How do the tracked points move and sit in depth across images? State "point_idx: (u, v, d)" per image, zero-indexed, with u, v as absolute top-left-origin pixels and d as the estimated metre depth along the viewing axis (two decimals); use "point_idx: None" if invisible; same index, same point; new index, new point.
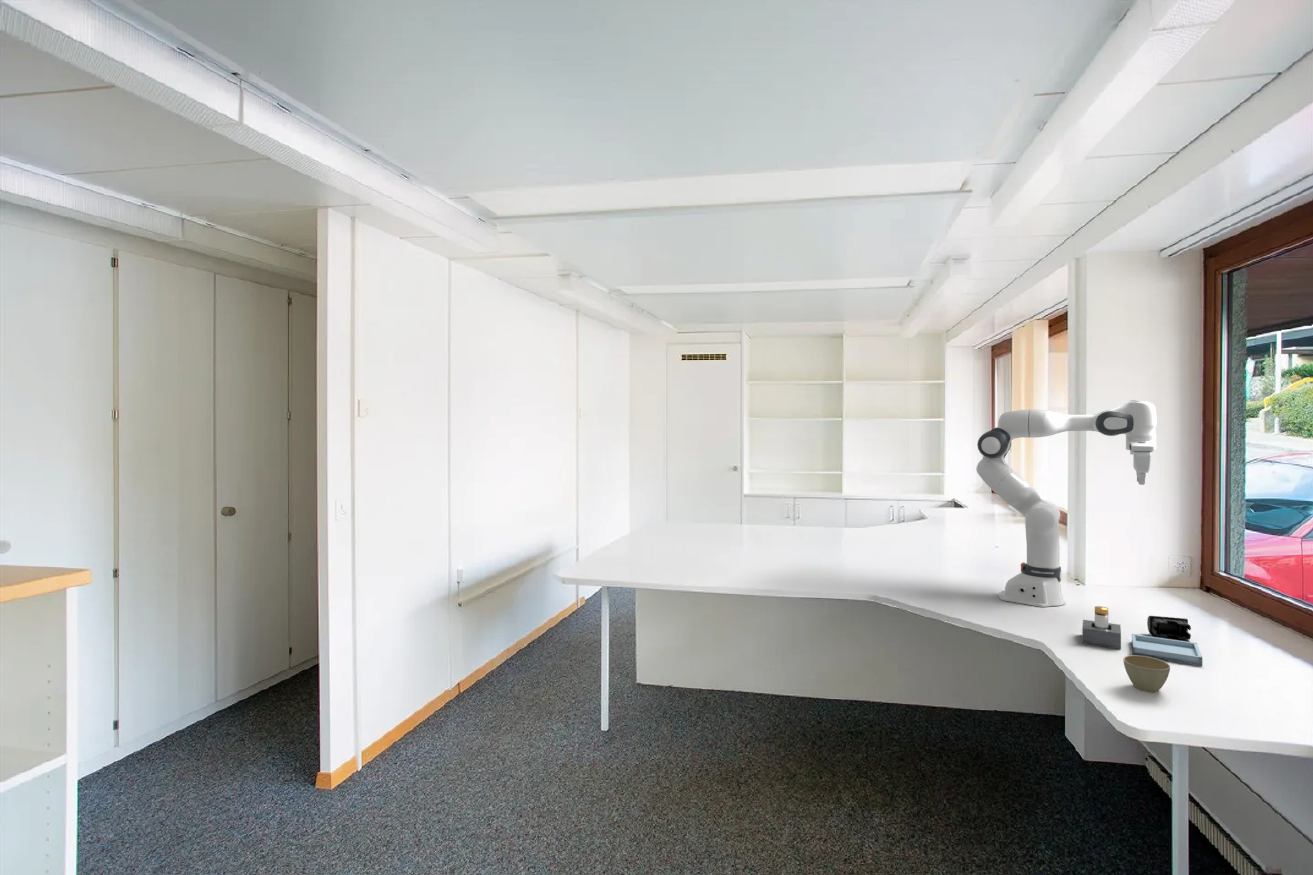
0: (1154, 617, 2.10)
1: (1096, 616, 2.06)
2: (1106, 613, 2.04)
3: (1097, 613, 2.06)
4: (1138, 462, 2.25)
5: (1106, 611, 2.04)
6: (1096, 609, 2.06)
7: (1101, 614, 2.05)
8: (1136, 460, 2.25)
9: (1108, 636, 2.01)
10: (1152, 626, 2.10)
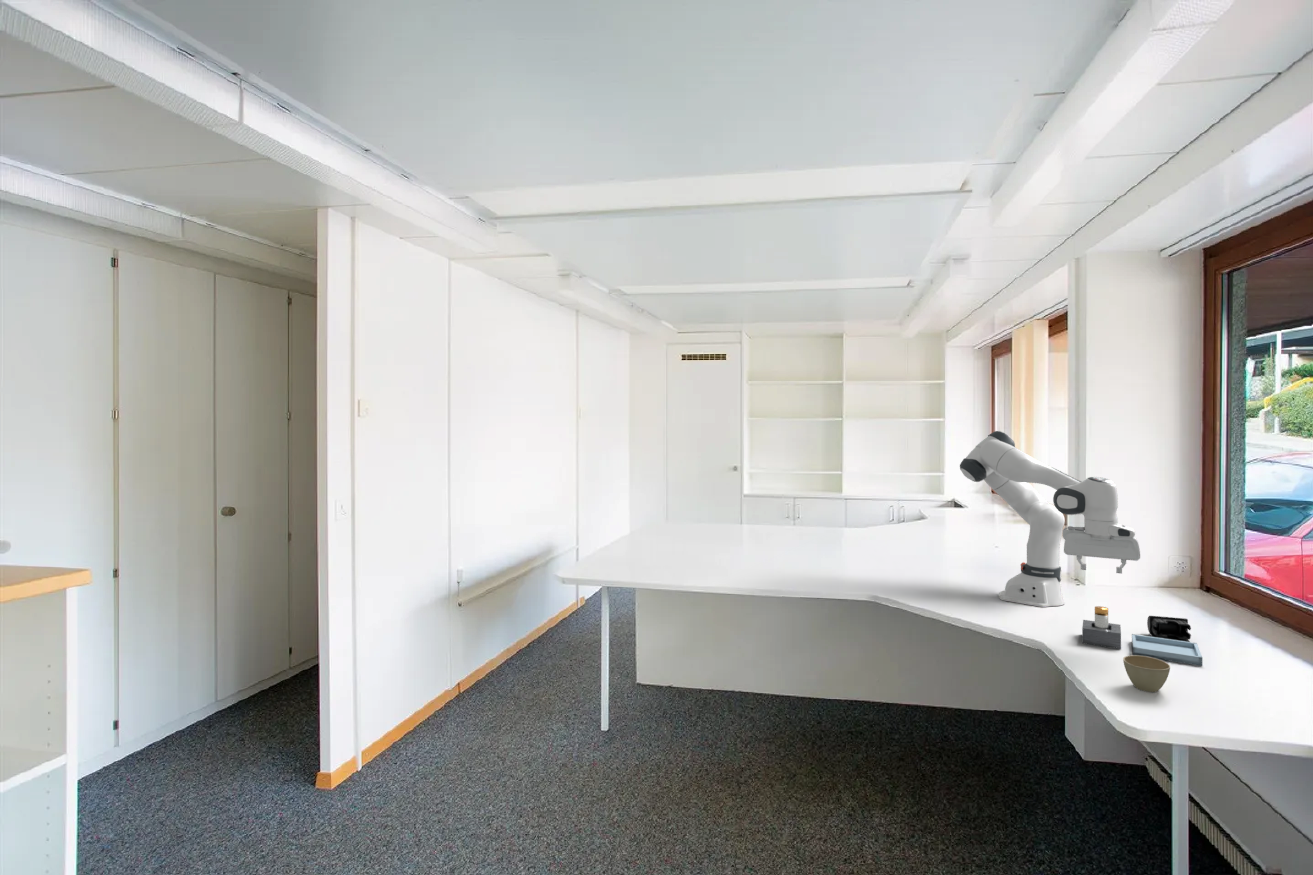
0: (1154, 617, 2.10)
1: (1096, 616, 2.06)
2: (1106, 613, 2.04)
3: (1097, 613, 2.06)
4: (1139, 549, 1.99)
5: (1106, 611, 2.04)
6: (1096, 609, 2.06)
7: (1101, 614, 2.05)
8: None
9: (1108, 636, 2.01)
10: (1152, 626, 2.10)
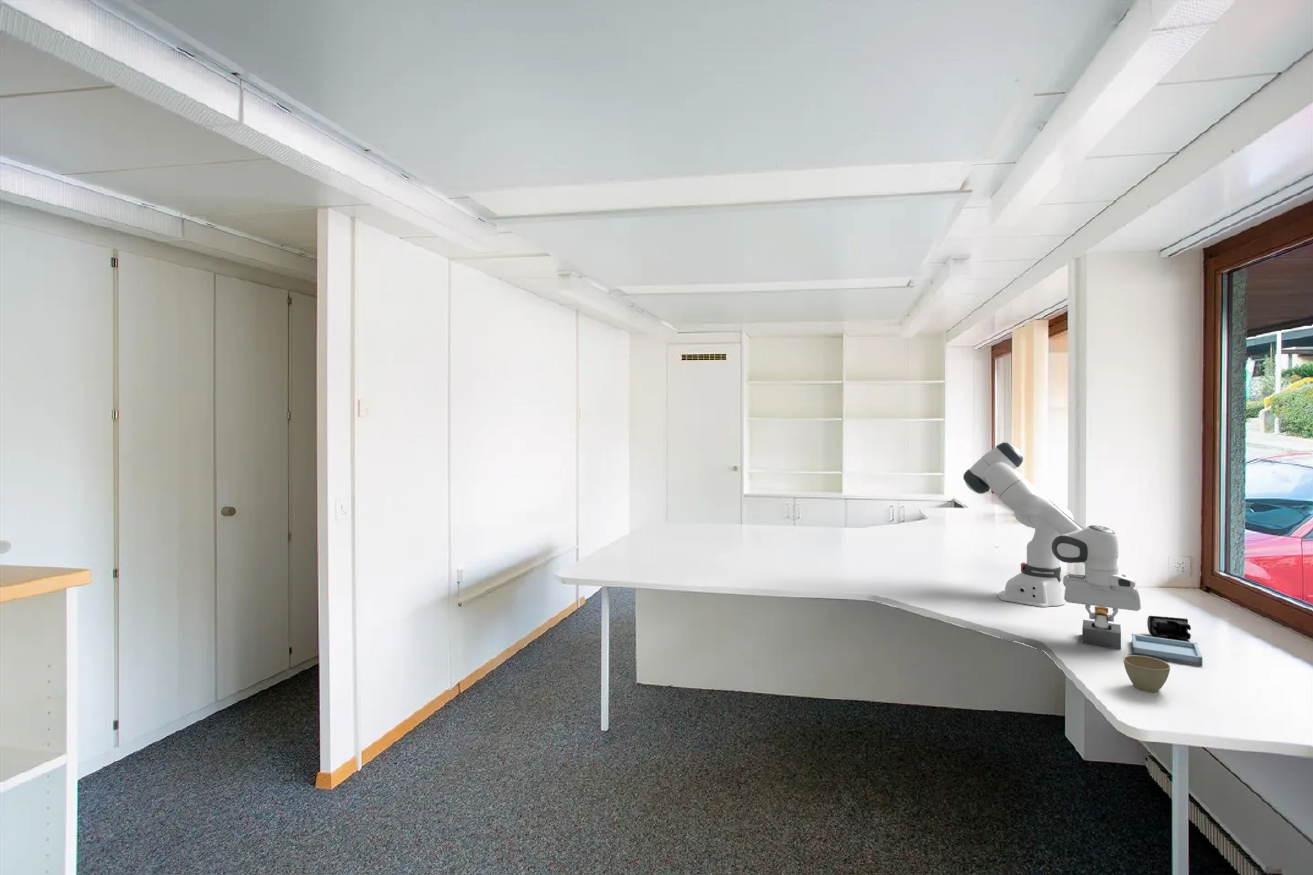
0: (1154, 617, 2.10)
1: (1096, 616, 2.06)
2: (1106, 613, 2.04)
3: (1097, 613, 2.06)
4: None
5: (1106, 611, 2.04)
6: (1096, 609, 2.06)
7: (1101, 614, 2.05)
8: (1139, 597, 1.99)
9: (1108, 636, 2.01)
10: (1152, 626, 2.10)
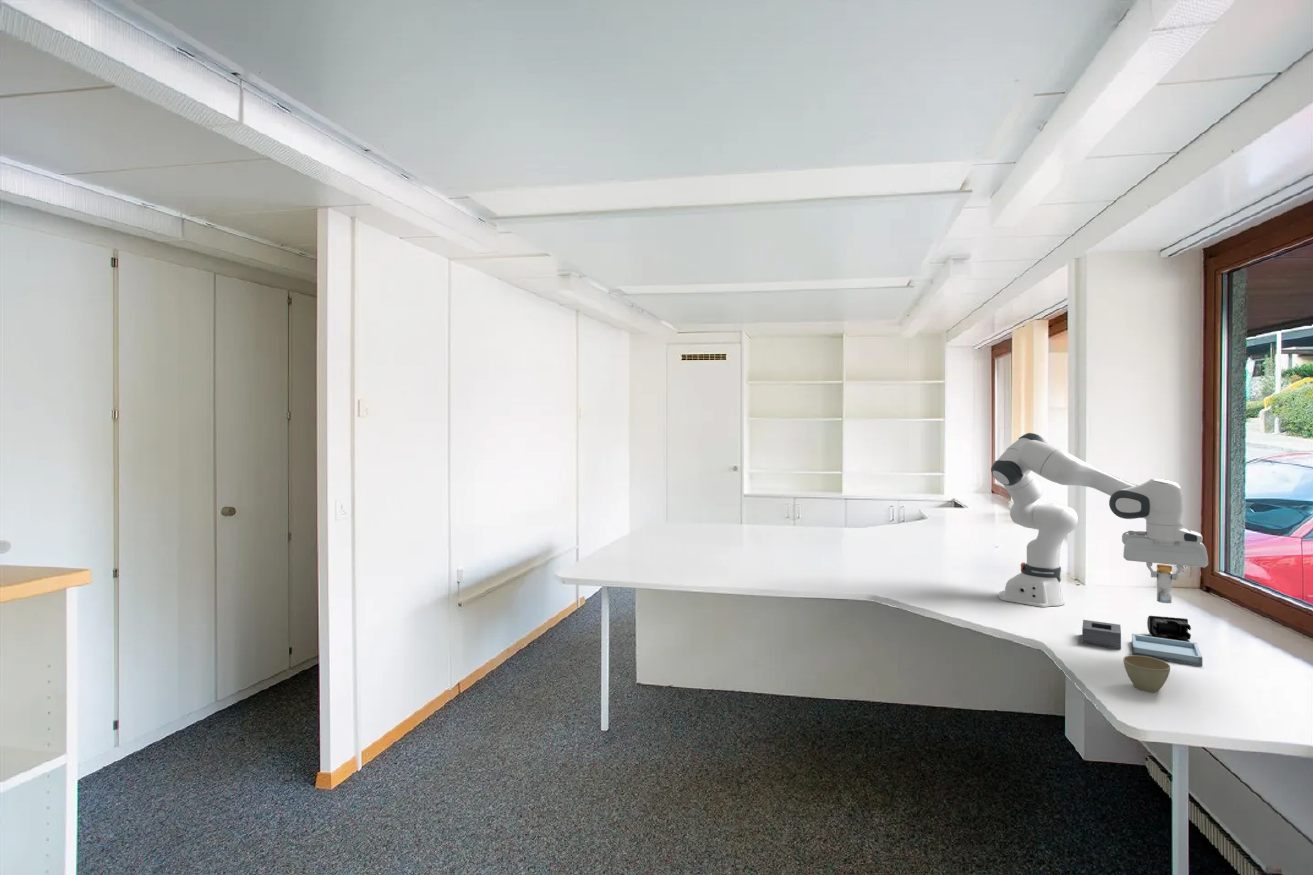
0: (1154, 617, 2.10)
1: (1159, 574, 1.95)
2: (1170, 571, 1.93)
3: (1160, 571, 1.94)
4: None
5: (1170, 569, 1.93)
6: (1159, 567, 1.95)
7: (1164, 572, 1.93)
8: None
9: (1108, 636, 2.01)
10: (1152, 626, 2.10)
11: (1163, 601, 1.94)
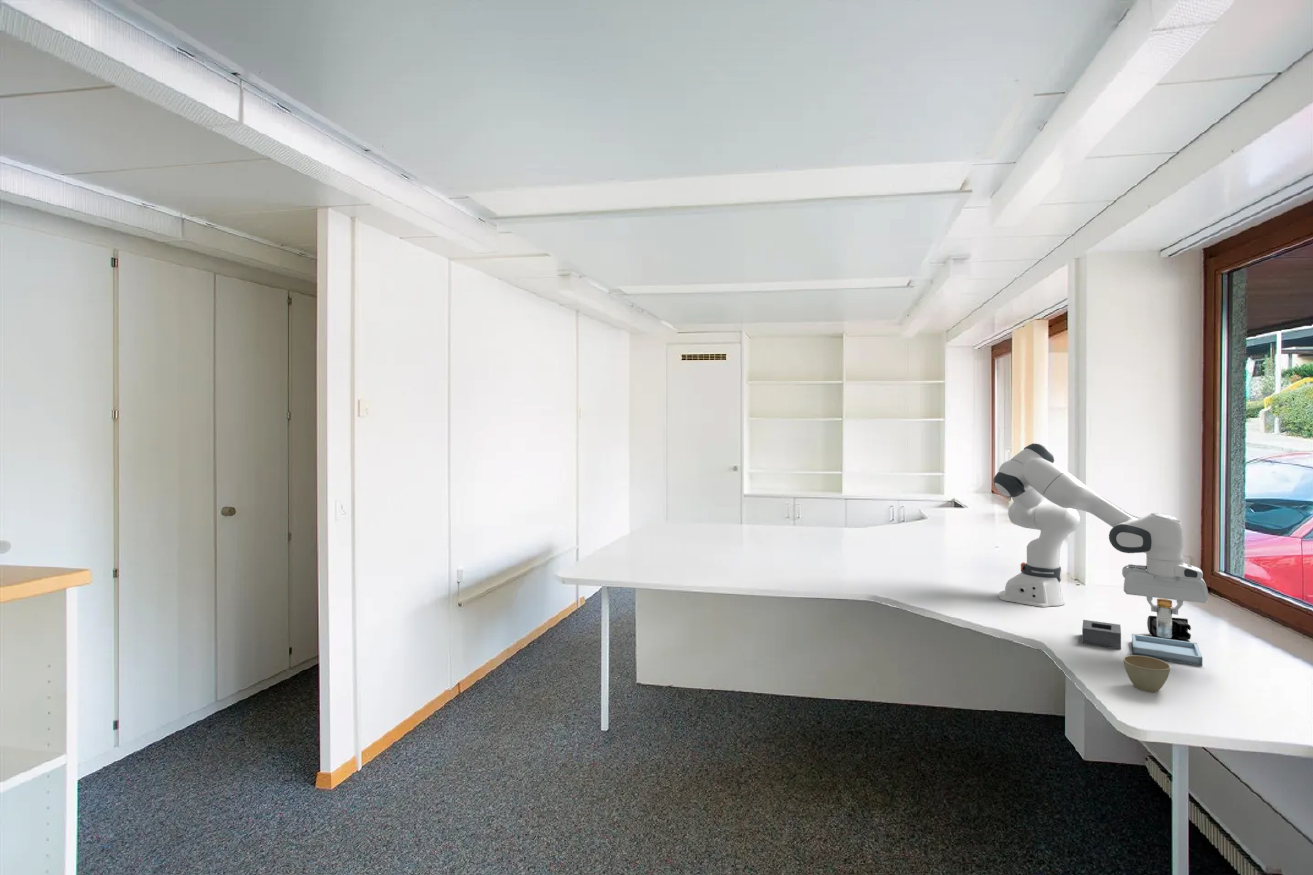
0: (1154, 617, 2.10)
1: (1159, 609, 1.95)
2: (1170, 606, 1.93)
3: (1160, 606, 1.95)
4: (1207, 591, 1.89)
5: (1170, 603, 1.93)
6: (1159, 601, 1.95)
7: (1164, 607, 1.94)
8: None
9: (1108, 636, 2.01)
10: (1152, 626, 2.10)
11: (1163, 636, 1.94)
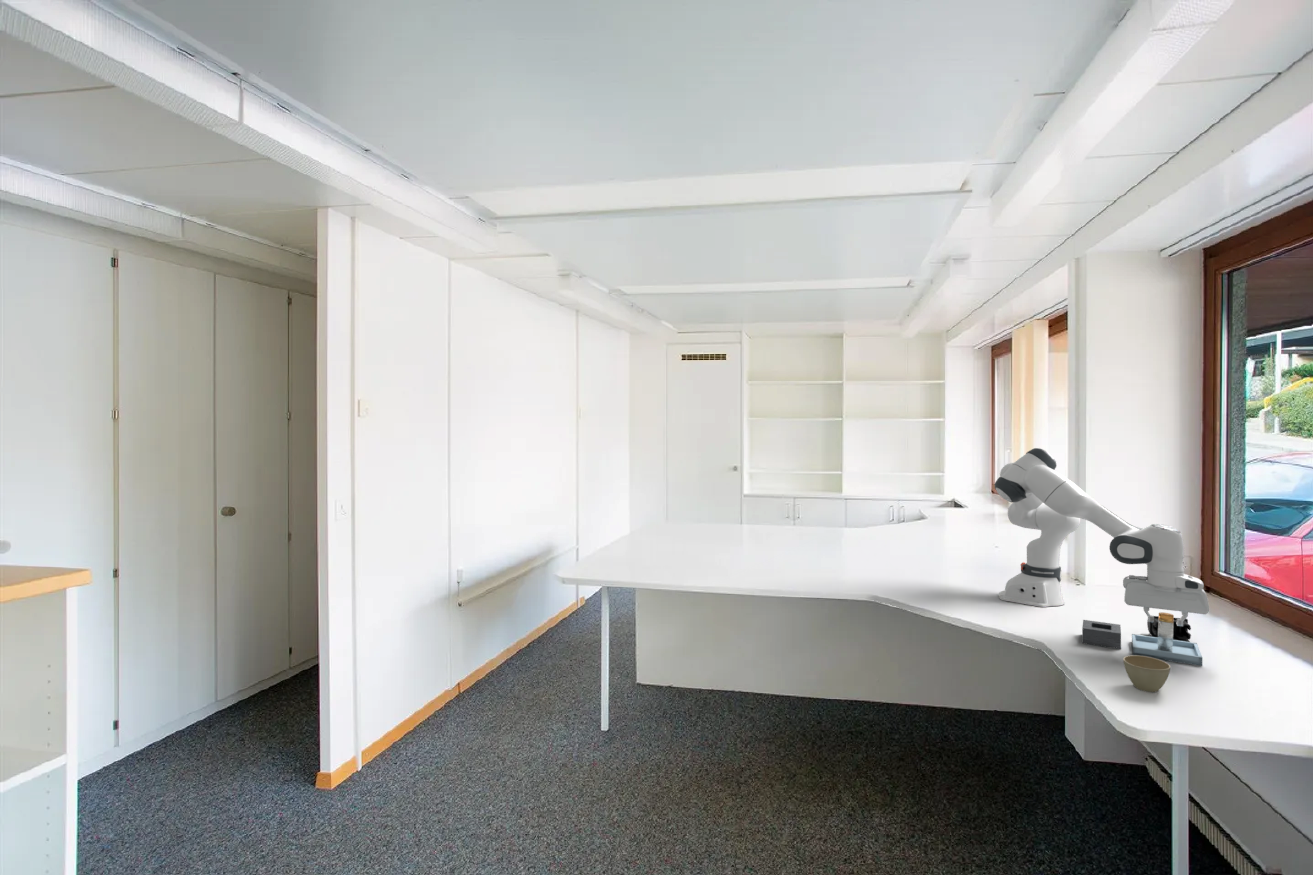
0: (1154, 617, 2.10)
1: (1160, 623, 1.95)
2: (1172, 620, 1.93)
3: (1162, 620, 1.95)
4: None
5: (1172, 618, 1.93)
6: (1160, 615, 1.95)
7: (1166, 621, 1.94)
8: None
9: (1108, 636, 2.01)
10: (1152, 626, 2.10)
11: (1164, 650, 1.94)
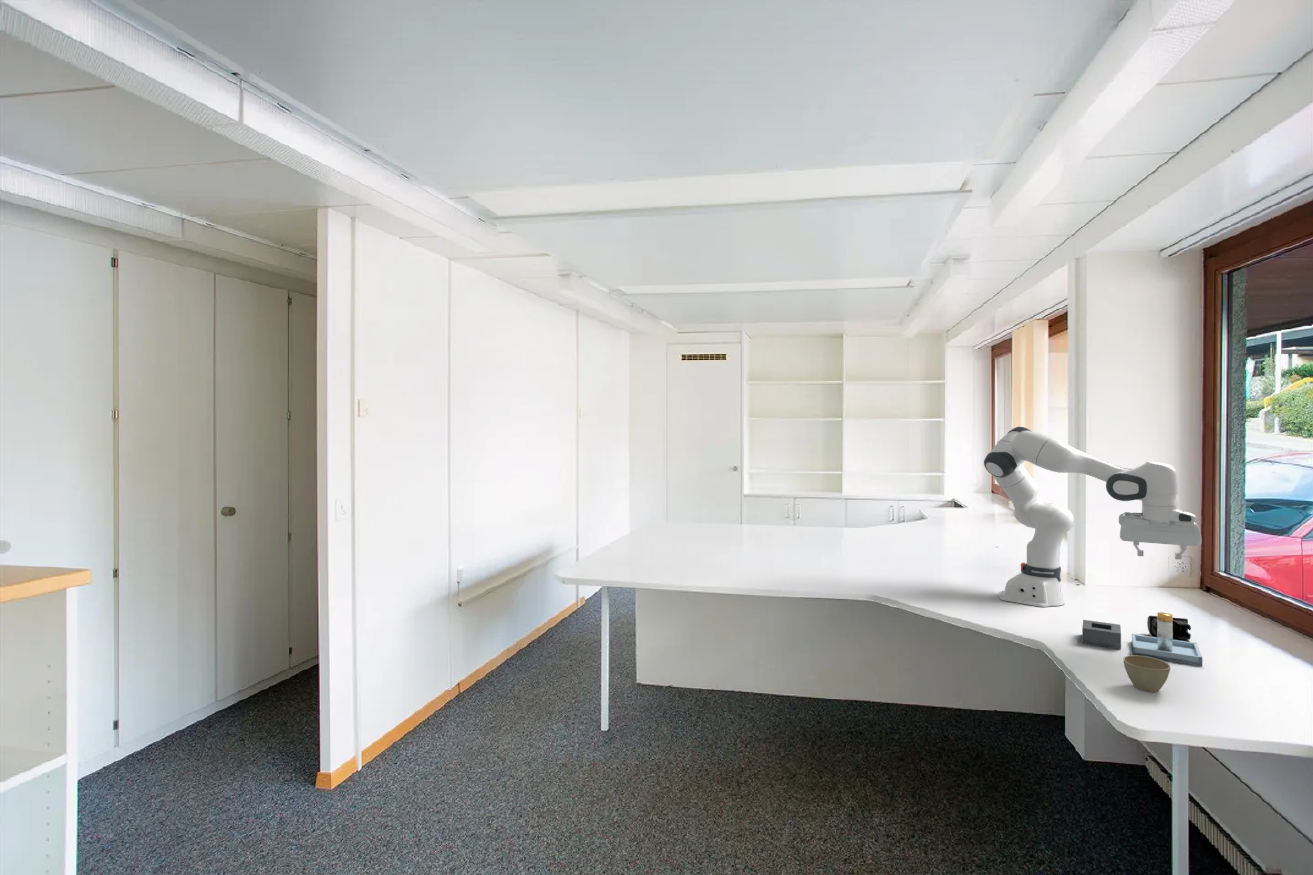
0: (1154, 617, 2.10)
1: (1159, 623, 1.95)
2: (1171, 620, 1.94)
3: (1160, 620, 1.95)
4: (1200, 534, 1.96)
5: (1170, 617, 1.94)
6: (1159, 615, 1.95)
7: (1165, 621, 1.94)
8: (1200, 532, 1.95)
9: (1108, 636, 2.01)
10: (1152, 626, 2.10)
11: (1164, 650, 1.94)
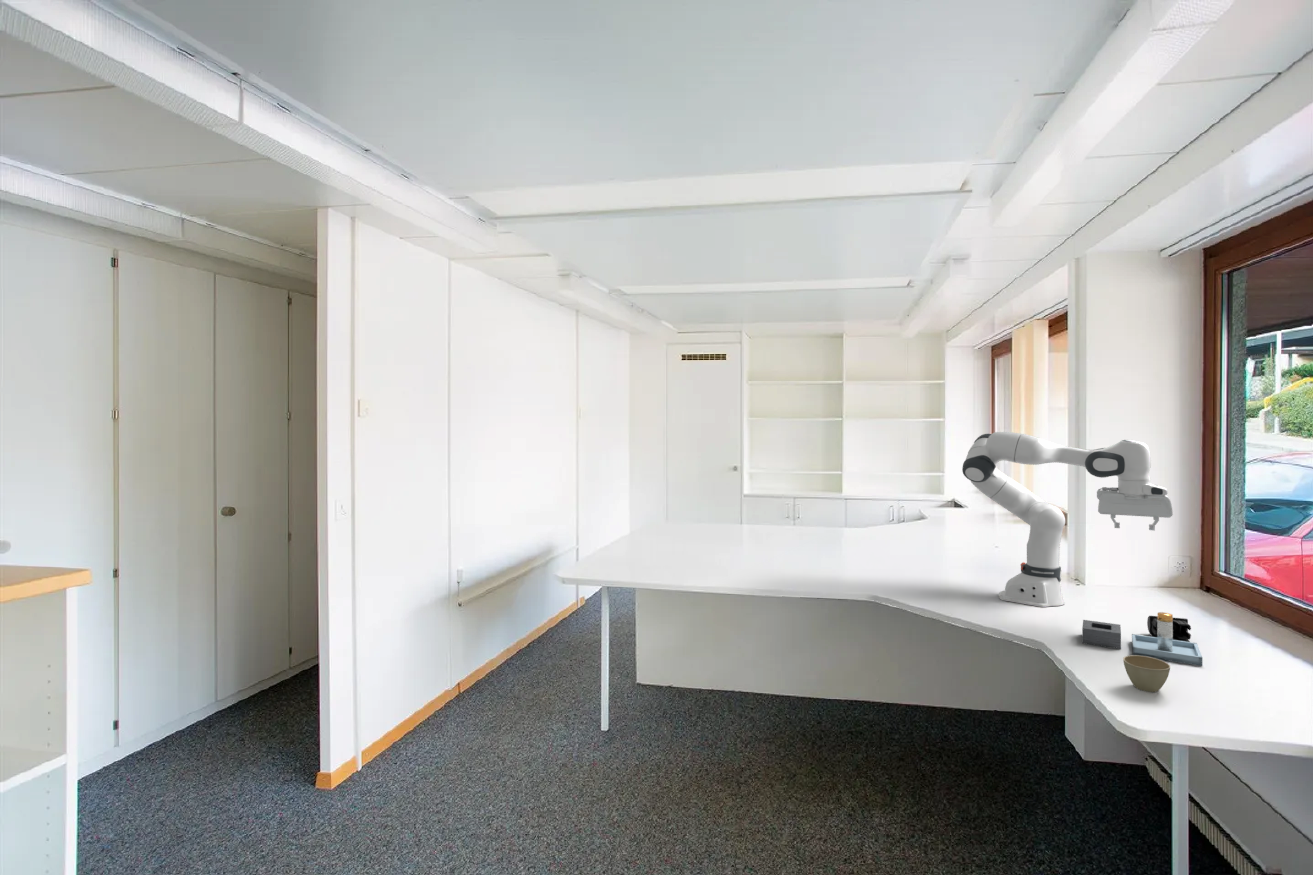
0: (1154, 617, 2.10)
1: (1159, 623, 1.95)
2: (1171, 620, 1.94)
3: (1161, 619, 1.95)
4: (1171, 507, 2.10)
5: (1170, 617, 1.94)
6: (1159, 615, 1.95)
7: (1165, 620, 1.94)
8: (1171, 505, 2.09)
9: (1108, 636, 2.01)
10: (1152, 626, 2.10)
11: (1164, 650, 1.94)
